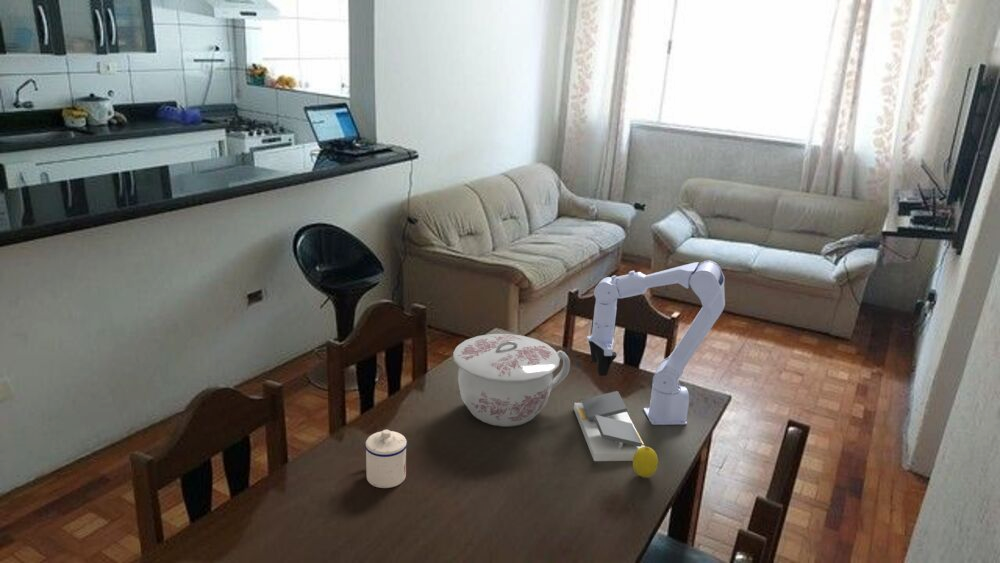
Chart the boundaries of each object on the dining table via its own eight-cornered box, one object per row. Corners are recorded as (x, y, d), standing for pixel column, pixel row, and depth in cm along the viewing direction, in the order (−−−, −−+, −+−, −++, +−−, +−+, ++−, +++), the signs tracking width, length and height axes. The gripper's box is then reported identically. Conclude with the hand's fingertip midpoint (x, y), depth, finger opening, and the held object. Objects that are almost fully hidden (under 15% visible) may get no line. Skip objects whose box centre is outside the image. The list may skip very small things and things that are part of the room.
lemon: (655, 486, 156) (660, 455, 154) (630, 482, 157) (634, 451, 155) (655, 472, 162) (659, 442, 159) (631, 468, 163) (635, 438, 160)
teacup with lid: (414, 481, 154) (414, 435, 150) (376, 494, 149) (376, 447, 145) (389, 454, 163) (388, 410, 159) (352, 466, 158) (351, 421, 154)
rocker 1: (618, 395, 185) (617, 390, 185) (628, 414, 176) (627, 408, 176) (581, 404, 185) (580, 399, 185) (589, 423, 176) (588, 418, 176)
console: (620, 408, 188) (622, 398, 187) (647, 460, 166) (649, 448, 165) (573, 409, 187) (574, 398, 186) (594, 461, 164) (595, 449, 163)
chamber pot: (432, 424, 176) (434, 350, 169) (476, 379, 200) (479, 312, 193) (537, 452, 167) (543, 375, 160) (570, 401, 191) (576, 332, 184)
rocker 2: (628, 428, 175) (631, 422, 175) (639, 450, 166) (642, 444, 166) (592, 419, 173) (594, 413, 173) (601, 441, 164) (603, 435, 164)
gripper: (583, 311, 190) (578, 356, 195) (595, 333, 177) (590, 381, 181) (608, 311, 191) (603, 356, 196) (622, 333, 178) (616, 381, 182)
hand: (599, 368), depth 189 cm, fingers open, 7 cm apart
